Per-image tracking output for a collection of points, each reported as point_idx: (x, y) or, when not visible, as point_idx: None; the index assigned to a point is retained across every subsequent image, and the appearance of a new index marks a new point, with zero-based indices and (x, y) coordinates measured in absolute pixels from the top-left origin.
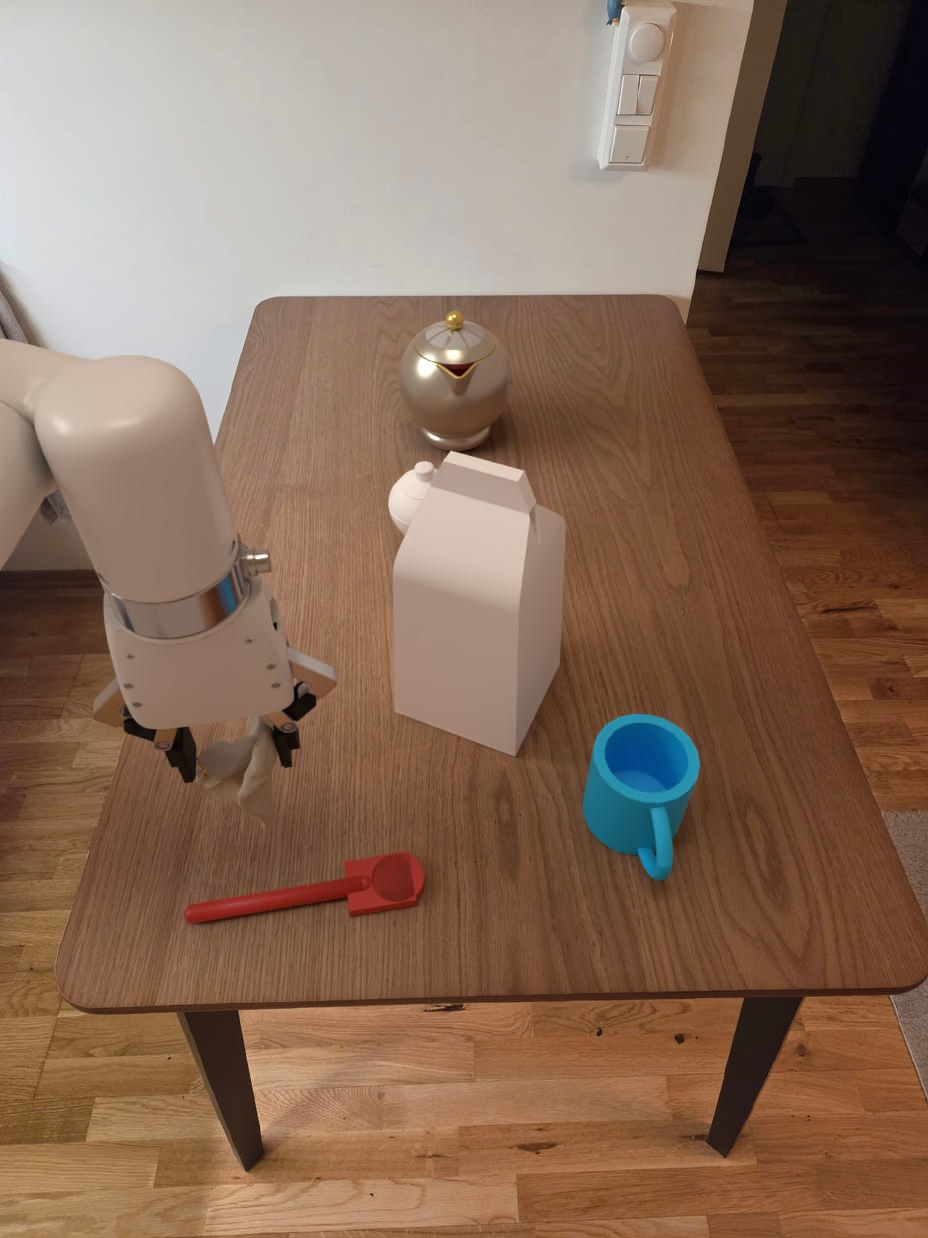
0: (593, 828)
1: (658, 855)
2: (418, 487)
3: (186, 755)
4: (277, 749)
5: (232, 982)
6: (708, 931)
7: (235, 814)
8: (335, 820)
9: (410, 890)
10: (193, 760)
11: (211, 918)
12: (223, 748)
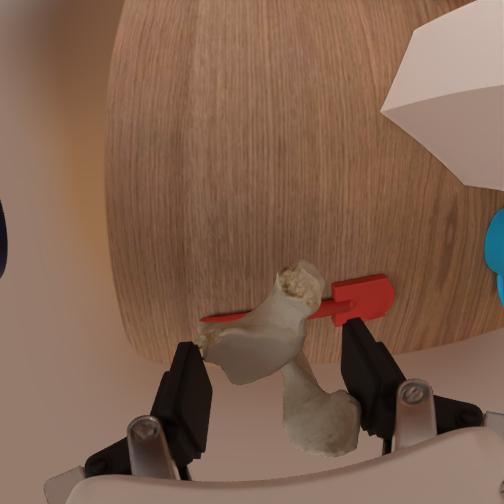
0: (488, 257)
1: None
2: None
3: (204, 430)
4: None
5: None
6: (497, 310)
7: (222, 226)
8: (324, 236)
9: (382, 310)
10: (204, 383)
11: None
12: (243, 342)
